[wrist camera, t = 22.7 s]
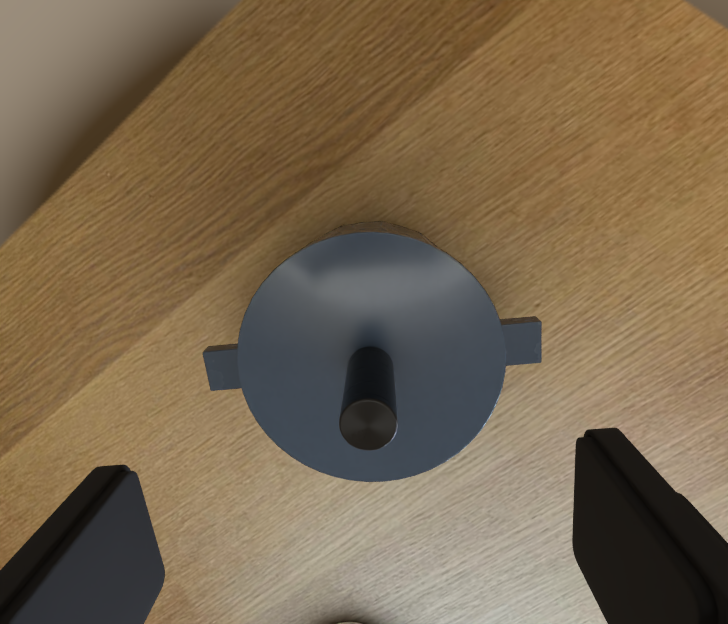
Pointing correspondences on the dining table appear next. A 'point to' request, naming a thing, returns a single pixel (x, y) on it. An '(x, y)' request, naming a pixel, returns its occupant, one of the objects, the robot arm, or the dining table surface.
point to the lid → (371, 356)
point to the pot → (517, 331)
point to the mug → (348, 623)
